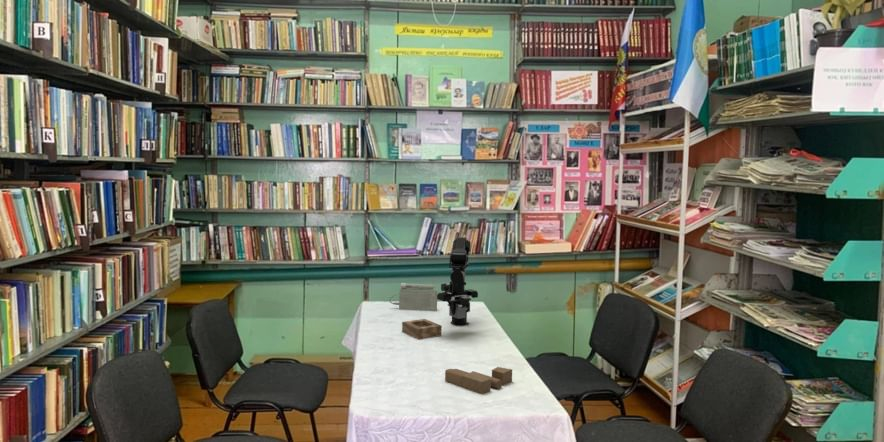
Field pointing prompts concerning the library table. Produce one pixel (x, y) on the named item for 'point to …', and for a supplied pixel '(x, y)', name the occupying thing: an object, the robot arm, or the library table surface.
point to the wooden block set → (479, 379)
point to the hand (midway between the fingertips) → (457, 314)
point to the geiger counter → (417, 297)
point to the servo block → (458, 311)
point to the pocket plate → (421, 328)
